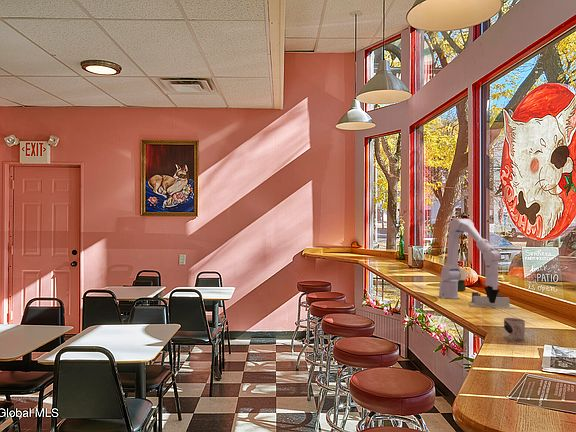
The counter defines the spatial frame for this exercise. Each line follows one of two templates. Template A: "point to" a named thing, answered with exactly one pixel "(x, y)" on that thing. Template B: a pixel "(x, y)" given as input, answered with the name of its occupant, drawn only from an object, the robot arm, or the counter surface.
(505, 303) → the rail
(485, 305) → the mat
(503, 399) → the counter surface
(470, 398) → the counter surface
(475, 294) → the brown boxy piece
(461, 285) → the character mug
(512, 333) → the mug
